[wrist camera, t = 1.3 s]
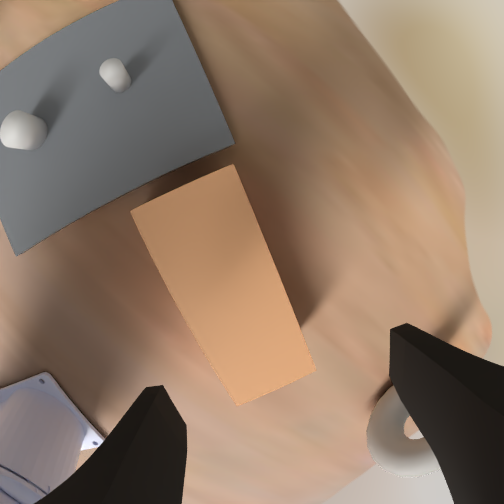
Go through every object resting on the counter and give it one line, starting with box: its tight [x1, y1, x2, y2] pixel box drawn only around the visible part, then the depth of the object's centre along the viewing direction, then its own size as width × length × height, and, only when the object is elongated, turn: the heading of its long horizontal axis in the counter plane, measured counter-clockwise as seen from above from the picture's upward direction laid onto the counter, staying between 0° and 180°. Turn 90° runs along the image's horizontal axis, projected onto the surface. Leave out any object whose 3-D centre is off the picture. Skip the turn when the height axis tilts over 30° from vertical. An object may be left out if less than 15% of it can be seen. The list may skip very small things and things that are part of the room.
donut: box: [367, 385, 441, 477], centre depth 20 cm, size 10×3×10 cm, turn 131°
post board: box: [0, 0, 235, 256], centre depth 13 cm, size 15×12×4 cm
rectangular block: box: [130, 164, 316, 406], centre depth 17 cm, size 12×5×4 cm, turn 23°
